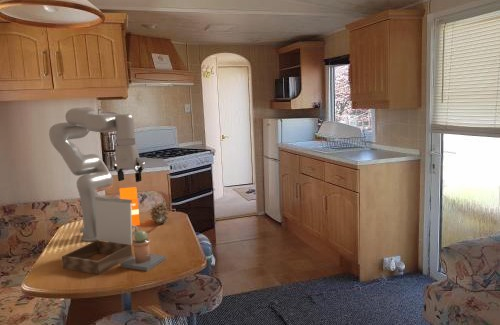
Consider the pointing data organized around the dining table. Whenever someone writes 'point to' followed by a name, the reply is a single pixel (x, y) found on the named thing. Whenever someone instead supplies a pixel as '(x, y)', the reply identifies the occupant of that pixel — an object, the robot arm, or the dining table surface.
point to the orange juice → (132, 194)
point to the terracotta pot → (141, 247)
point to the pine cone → (159, 213)
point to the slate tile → (143, 265)
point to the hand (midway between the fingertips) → (129, 180)
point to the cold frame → (116, 256)
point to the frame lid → (114, 220)
